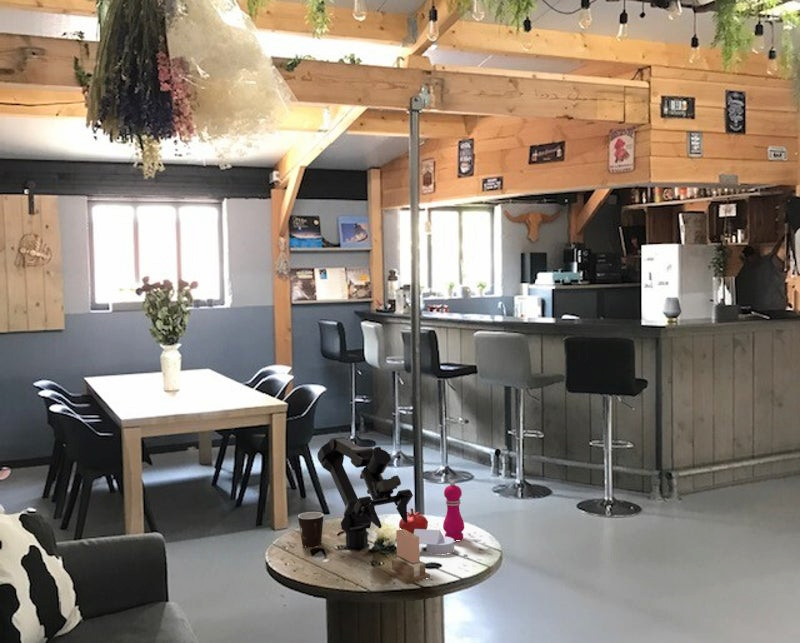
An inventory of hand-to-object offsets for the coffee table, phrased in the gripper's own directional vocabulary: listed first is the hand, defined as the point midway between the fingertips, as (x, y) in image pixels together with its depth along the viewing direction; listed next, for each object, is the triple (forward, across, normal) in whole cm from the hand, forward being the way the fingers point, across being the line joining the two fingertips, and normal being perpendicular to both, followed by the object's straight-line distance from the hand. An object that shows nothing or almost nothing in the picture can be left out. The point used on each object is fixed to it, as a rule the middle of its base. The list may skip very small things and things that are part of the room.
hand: (393, 525), depth 251 cm
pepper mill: (0, +31, +19) cm, 37 cm away
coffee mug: (-16, -12, +35) cm, 40 cm away
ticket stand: (+15, 0, +4) cm, 16 cm away
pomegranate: (-8, +23, +28) cm, 37 cm away
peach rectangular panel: (+11, 0, 0) cm, 11 cm away
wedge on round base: (+4, +20, +15) cm, 25 cm away
